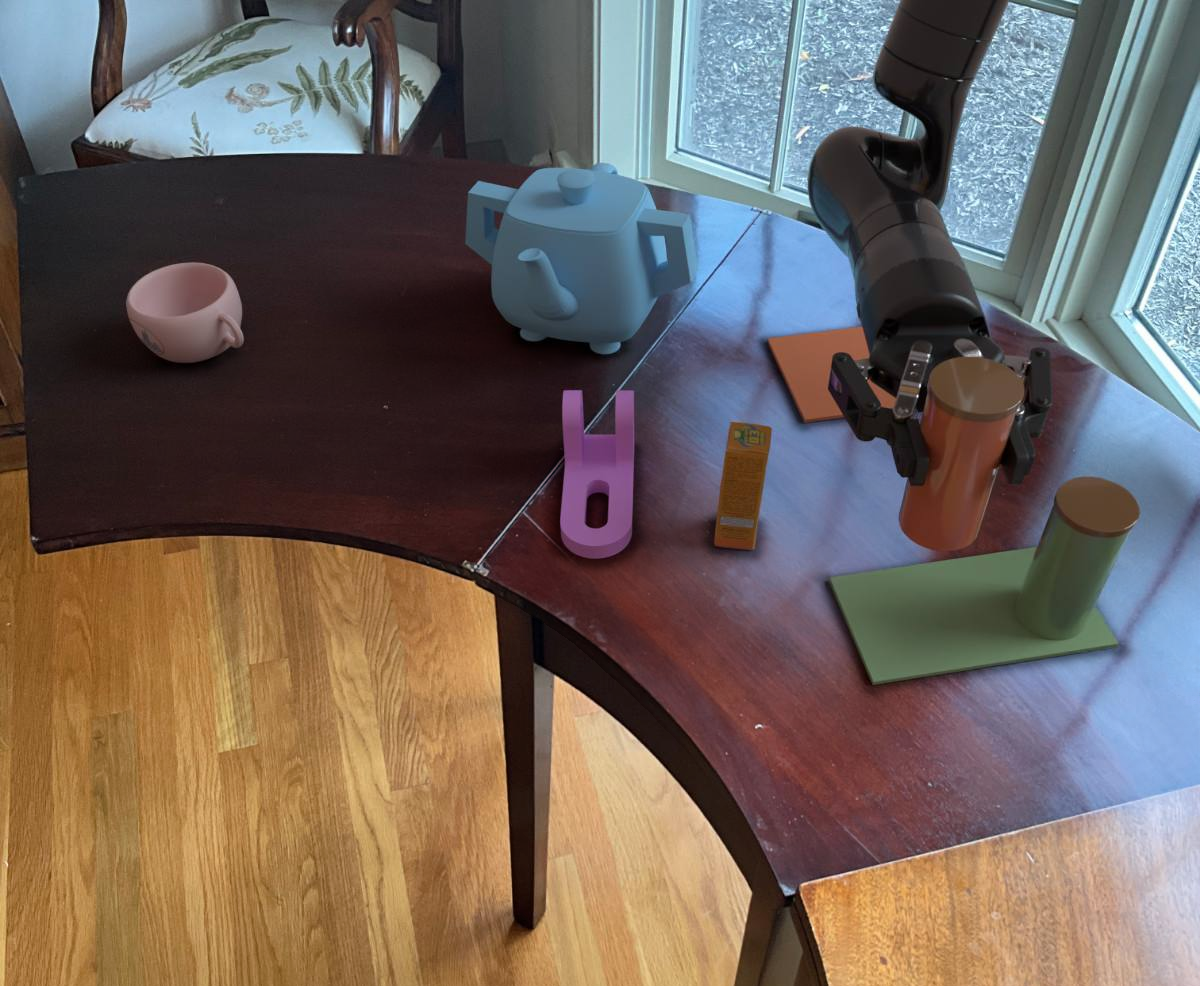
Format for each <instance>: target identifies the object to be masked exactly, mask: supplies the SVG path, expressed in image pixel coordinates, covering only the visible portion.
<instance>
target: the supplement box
mask: <svg viewBox="0 0 1200 986" xmlns="http://www.w3.org/2000/svg"><path fill="white" fill-rule="evenodd" d="M772 430H773V429H772V427H771V426H769V425H764V424H757V423H748V422H741V421H740V422H739V421H730V422H729V427H728V435H727V442H726V447H725V454H724V460H723V465H722V466H723V467H722V472H721V475H722V476H721V479H720V485H719V494H718V505H717V512H716V519H715V529H714V539H713V541H714V542H713V544H714V546H715V547H717V548H718V547H719V548H726V549H735V550H736V549H737V550H748V551H752V550H754V549H755V546H756V541H757V533H758V525H759V519H760V512H761V506H762V500H763V494H764V486H765V481H766V472H767V467H768V461H769V455H770V450H771V442H772Z"/></svg>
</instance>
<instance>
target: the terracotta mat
mask: <svg viewBox="0 0 1200 986" xmlns="http://www.w3.org/2000/svg"><path fill="white" fill-rule="evenodd" d="M766 343H767V344H768V346H769V349H770V351H771V354H772V355H773V358H774V360H775V362H776V364H777V367H778V368H779V369H778V370H779V371H780V373H781V376H782V377H783V380H784V382H785V384H786V386H787V388H788V390H789V392H790V395H791V397H792V399H793V401H794V403H795V406H796V408H797V410H798V412H799V415H800V417H801V418H802V421H803V423H804V424H806V423H815V422H822V421H830V420H837V419H845V417H844V416H843V414H842V412H841V411H840V409H839V407H838V406H837V404H836V402H835V400H834V399H833V397H832V395H831V394H830V392H829V390H828V384H829V377H830V370H831V364H832V357H833V355H834V354H835V353H838V352H845V353H848V354H849V355H851V357H852V358H853V360H854V361H855V360H861V359H867V358H869V356H870V355H869V351H868V347H867V343H866V339H865V335H864V331H863V327H862V326H855V327H847V328H839V329H838V328H837V329H831V330H823V331H815V332H807V333H800V334H799V333H798V334H792V335H782V336H775V337H768V338H767V340H766ZM867 382H868V384H869V385H870V387H871V388H872V390H873V392H874V393H875V395H876V396H877V398H878V399H879V401H880V403H881V407H885V408H890V409H893V407H894V404H895V401H896V398H895V397H893V396H892V395H890V394H889V393H887V392H886V391H884V390H883V389H881V388H880V387H878V386H877V385H876V384H874V383H873V382H871V380H870V379H868V380H867Z"/></svg>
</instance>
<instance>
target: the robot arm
mask: <svg viewBox="0 0 1200 986" xmlns="http://www.w3.org/2000/svg"><path fill="white" fill-rule="evenodd" d="M1009 3H1010V0H900V1H899V3H898V6H897V8H896V10H895V13H894V16H893V18H892V21H891V23H890V26H889V28H888V31H887V33H886V36H885V39H884V40H883V41H884V42H883V44H882V46H881V49H880V52H879V54H878V56H877V60H876V62H875V66H874V68H873V71H872V85H873V88H874V90H875V91H876V93H877V94H878V95H879V97H881V98H882V99H883V100H885V101H886V102H887V103H889V104H890V105H892V106H894V107H896V108H897V109H899V110H901V111H903V112H904V113H906V114H909V115H910V116H911V117H913V118H915V119H916V126H915V131H914V134H913V135H912V137H911V138H907V137H903V136H899V135H894V134H890V133H887V132H883V131H879V130H878V131H877V130H876V129H875V130H874V129H872V128H867V127H862V126H857V125H856V126H855V125H854V126H853V125H851V126H850V125H849V126H843V127H841V128H837V129H836V130H833V131H832V132H831V133H829V134H828V135H827V136H826V137H824V139H823V140H821V142H819V144H818V146H817V147H816V148H815V151H814V152H813V155H812V157H811V160H810V162H809V166H808V172H807V181H806V182H807V196H808V201H809V204H810V207H811V211H812V214H813V216H814V217H815V219H816V221H817V222H818V224H819V225H820V227H821V228H822V230H823V231H824V232H825V234H827V236H828V237H829V238H830V239H831V241H832V242H833V243H834V245H835V246H836V247H837V249H839V251H840V252H841V253H842V254H843V255H844V256H845V257H847V259H848V262H849V267H850V270H851V274H852V278H853V281H854V297H855V298H854V299H855V304H856V307H855V308H856V314H857V318H858V319H859V322H860V323H861V327H863V331H864V335H865V339H866V343H867V347H868V351H869V355H870V356H869V358H867V359H861V360H855V361H854V360H853V358H852V357H851V355H849V354H848V353H845V352H838V353H835V354H834V355H833V357H832V364H831V370H830V377H829V384H828V390H829V392H830V394H831V395H832V397H833V399H834V400H835V402H836V404H837V406H838V407H839V409H840V411H841V412H842V414H843V416H844V417H845V418H844V419H845V421H846V422H847V424H848V426H849V427H850V429H851V431H852V433H853V434H854V436H855V438H856V439H857V440H859V441H861V442H865V443H867V442H872V441H874V440H875V438H876V439H877V438H878V439H882V440H883V441H886V443H887V445H888V446H889V447H890V450H891V454H892V458H893V461H894V462H893V463H894V466H895V469H896V473H897V474H898V475H899V476H900V478H902V479H907V478H908V479H909V483H910V486H923V485H924V483H925V479H926V475H927V471H928V467H929V456H928V452H927V448H926V445H925V441H924V438H923V435H922V432H921V428H920V421H919V419H918V418H915V417H916V414H917V412H918V413H923V410H924V406H925V401H926V397H927V393H928V391H927V386H928V381H929V376H930V374H931V372H932V370H933V369H934V368H935V367H936V366H937V365H939V364H940V363H942V362H944V361H946V360H949V359H952V358H957V357H980V358H986V359H990V360H993V361H996V362H999V363H1001V364H1003V365H1005V366H1007V367H1008V368H1010V369H1011V370H1013V371H1014V372H1015V373H1016V374H1017V375H1018V376H1019V377H1020V379H1021V381H1022V382H1023V385H1024V396H1023V399H1022V402H1021V405H1020V407H1019V408H1018V409H1017V412H1016V415H1015V418H1014V421H1013V425H1012V428H1011V431H1010V434H1009V437H1008V440H1007V444H1006V447H1005V450H1004V453H1003V456H1002V459H1001V463H1000V467H1001V470H1002V472H1003V475H1004V478H1005V482H1006V484H1008V485H1021V484H1023V482H1024V479H1025V476H1029V475H1030V471H1031V469H1032V467H1033V463H1034V460H1035V458H1036V454H1037V450H1036V447H1035V445H1034V442H1033V440H1032V439H1037V438H1038V439H1039V438H1040V437H1041V436H1042V435H1043V432H1044V430H1045V423H1046V421H1047V418H1048V415H1049V412H1050V411H1051V409H1052V406H1053V404H1054V400H1053V379H1052V378H1053V377H1052V376H1053V375H1052V357H1051V356H1052V355H1051V351H1050V350H1048V349H1047V348H1044V347H1040V346H1039V347H1033V348H1032V349H1031V350H1030V351H1029V355H1028V356H1020V355H1019V356H1018V355H1009V354H1005V352H1004V350H1003V348H1002V347H1001V346H1000V345H998V344H997V343H996V342H994V341H993V340H992V338H991V336H990V331H989V325H988V321H987V319H986V315H985V312H984V310H983V308H982V305H981V303H980V300H979V297H978V295H977V292H976V289H975V287H974V284H973V282H972V279H971V276H970V274H969V271H968V269H967V266H966V264H965V262H964V259H963V256H961V254H960V252H959V251H958V249H957V248H956V247H955V245H954V243H953V241H952V239H951V236H950V233H949V231H948V227H947V225H946V223H945V220H944V218H943V215H942V213H941V211H942V209H943V206H944V204H945V201H946V197H947V192H948V188H949V182H950V177H951V171H952V163H953V157H954V152H955V147H956V142H957V137H958V133H959V129H960V125H961V120H962V117H963V112H964V109H965V105H966V102H967V98H968V95H969V92H970V90H971V87H972V86H973V83H974V81H975V79H976V76H977V75H978V72H979V70H980V68H981V66H982V63H983V62H984V59H985V57H986V55H987V52H988V50H989V48H990V46H991V44H992V41H993V39H994V37H995V35H996V33H997V31H998V29H999V26H1000V24H1001V22H1002V19H1003V16H1004V14H1005V12H1006V10H1007V7H1008V5H1009ZM868 379H870V380H871V382H873V383H874V384H876V385H877V386H878V387H880V388H881V389H883V390H884V391H886V392H887V393H889V394H890V395H892V396H893V397H895V398H896V401H895V404H894V407H893V409H890V408H885V407H881V403H880V401H879V399H878V398H877V396H876V395H875V393H874V392H873V390H872V388H871V387H870V385H869V384H868V382H867V380H868Z"/></svg>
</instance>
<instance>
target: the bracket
mask: <svg viewBox="0 0 1200 986" xmlns="http://www.w3.org/2000/svg"><path fill="white" fill-rule="evenodd" d="M561 408H562V409H561V411H562V413H561V415H562V416H561V417H562V418H561V419H562V438H563V453H564V472H563V473H564V474H563V485H562V496H561V507H560V520H559V523H560V525H559V526H560V538H561V541H562V543H563V545H564V546H565V548H567V549H568V550H569V551H570V552H571V553H573V554H574V555H576V556H579V557H581V558H585V559H596V560H597V559H606V558H609V557H612V556H614V555H617V554H619V553H620V552H622V551H623V550H625V548H627V546H628V545H629V543H630V542H631V539H632V536H633V510H634V509H633V508H634V507H633V506H634V471H635V470H634V469H635V468H634V467H635V390H633V389H632V390H628V389H627V390H625V389H624V390H623V389H622V390H621V389H619V390H617V389H616V390H615V413H614V414H615V417H614V418H615V420H614V421H615V424H614V425H615V426H614V427H615V434H586V433H585V419H584V399H583V390H582V389H577V390H576V389H568V390H567V389H565V390H563V392H562V407H561ZM597 493H600V494H601V493H602V494H605V495H606V496H607V497H608V510H607V523H606V524H605V525H603V526H602V527H599V528H593V527H589V526H588V525H587V524H586V519H587V504H588V498H589V497H590V496H591V495H593V494H597Z"/></svg>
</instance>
